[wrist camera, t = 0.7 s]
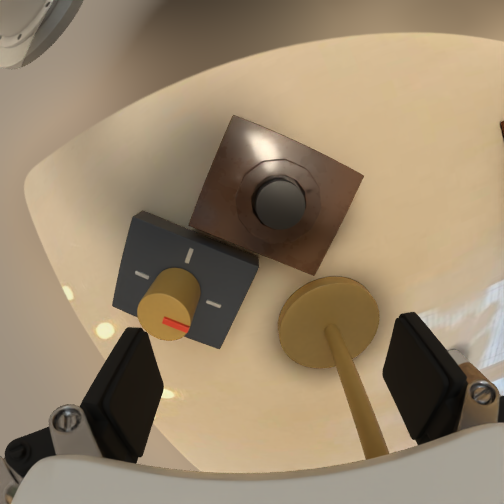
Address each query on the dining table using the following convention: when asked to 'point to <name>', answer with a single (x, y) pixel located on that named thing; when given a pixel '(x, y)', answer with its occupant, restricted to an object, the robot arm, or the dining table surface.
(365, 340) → the lamp
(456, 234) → the dining table surface
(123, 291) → the dimmer panel
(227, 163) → the switch block
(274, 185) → the power button
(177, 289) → the dimmer knob
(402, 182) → the dining table surface
